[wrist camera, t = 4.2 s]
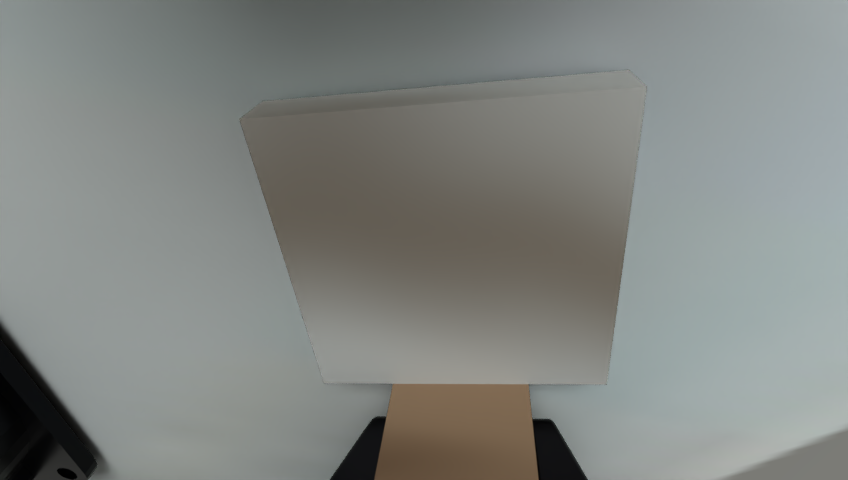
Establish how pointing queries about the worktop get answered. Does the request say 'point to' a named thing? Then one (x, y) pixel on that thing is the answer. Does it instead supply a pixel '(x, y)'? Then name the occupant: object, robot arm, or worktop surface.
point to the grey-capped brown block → (456, 250)
